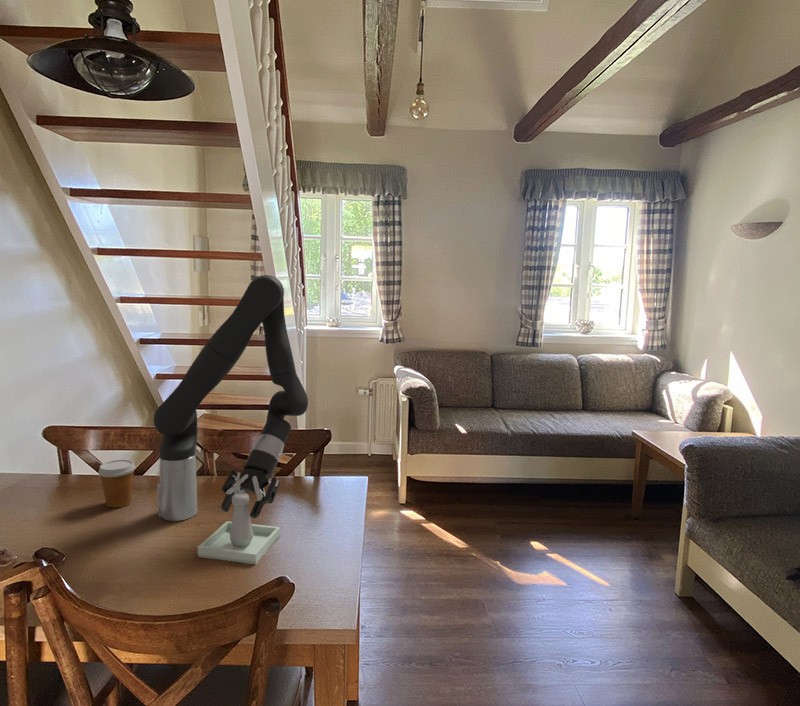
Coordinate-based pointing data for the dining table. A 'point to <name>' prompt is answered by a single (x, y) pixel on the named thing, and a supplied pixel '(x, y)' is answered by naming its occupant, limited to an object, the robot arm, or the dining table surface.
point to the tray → (252, 553)
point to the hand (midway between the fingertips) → (238, 514)
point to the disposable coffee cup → (117, 482)
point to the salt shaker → (241, 521)
